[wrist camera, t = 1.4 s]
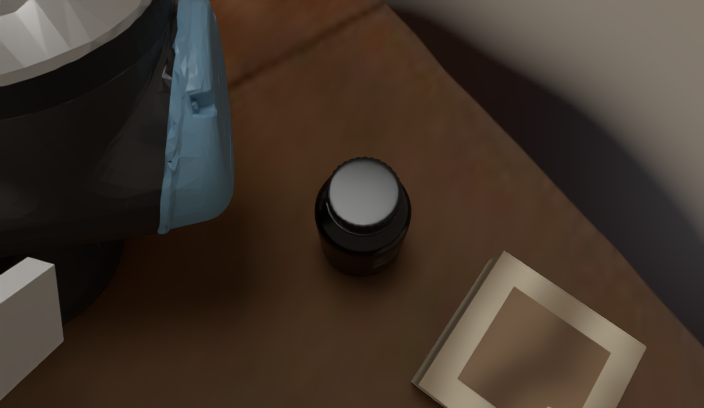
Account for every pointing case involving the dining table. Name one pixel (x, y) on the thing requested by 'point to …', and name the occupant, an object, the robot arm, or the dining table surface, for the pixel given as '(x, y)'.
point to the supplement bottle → (362, 216)
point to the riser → (527, 347)
